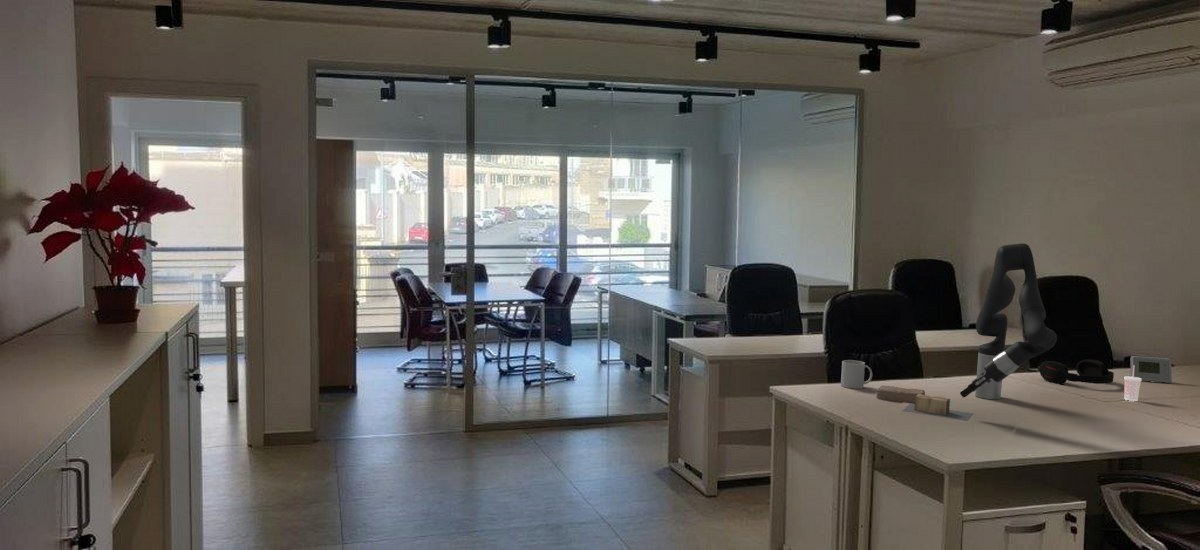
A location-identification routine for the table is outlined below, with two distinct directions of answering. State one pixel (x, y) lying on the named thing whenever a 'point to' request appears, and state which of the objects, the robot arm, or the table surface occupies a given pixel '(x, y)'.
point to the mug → (854, 374)
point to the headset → (1086, 369)
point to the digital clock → (1151, 368)
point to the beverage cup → (1132, 387)
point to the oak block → (932, 404)
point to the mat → (951, 414)
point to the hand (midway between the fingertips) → (962, 395)
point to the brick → (898, 393)
